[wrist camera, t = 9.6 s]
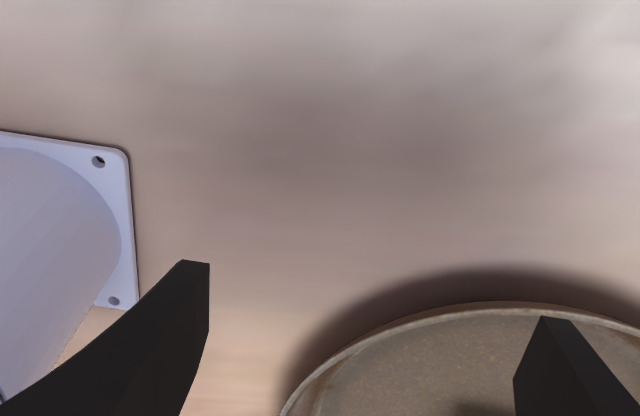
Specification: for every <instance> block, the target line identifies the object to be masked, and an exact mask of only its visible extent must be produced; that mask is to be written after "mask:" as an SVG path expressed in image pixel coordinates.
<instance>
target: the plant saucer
mask: <svg viewBox="0 0 640 416" xmlns="http://www.w3.org/2000/svg"><path fill="white" fill-rule="evenodd" d="M541 315H542V316H549V317H555V318H562V319H568V320H570V321H571V322H572V323H573V324H574V326H575V327H576V328H577V329H578V330H579V332H580V333H581V334H582V335H583V337H584V338H585V339H586V340H587V341H588V343H589V344H590V345H591V346H592V348H593V349H594V350H595V351H596V353H597V354H598V355H599V356H600V358H601V359H602V360H603V361H604V363H605V364H606V365H607V366H608V368H609V369H610V370H611V371H612V372H613V374H614V375H615V376H616V377H617V379H618V380H619V381H620V382H621V383H622V385H623V386H624V387H625V388H626V389H627V391H628V392H629V393H630V394H631V395H632V396H633V398H634V399H635V400H636V401H637V402H638V403H639V405H640V328H638V327H635V326H633V325H630V324H627V323H625V322H622V321H620V320H617V319H614V318H611V317H608V316H605V315H602V314H598V313H594V312H590V311H587V310H583V309H578V308H573V307H568V306H563V305H556V304H549V303H541V302H529V301H480V302H469V303H461V304H454V305H448V306H443V307H438V308H434V309H430V310H425V311H421V312H418V313H414V314H411V315H408V316H405V317H402V318H399V319H397V320H394V321H391V322H389V323H387V324H384V325H382V326H379V327H377V328H375V329H373V330H371V331H369V332H367V333H366V334H364V335H362V336H360V337H358V338H356V339H355V340H353V341H352V342H350V343H349V344H347V345H345V346H344V347H343V348H341V349H340V350H338V351H337V352H335V353H334V354H333V355H331V356H330V357H329V358H328V359H326V360H325V361H324V362H323V363H322V364H320V365H319V366H318V367H317V368H316V369H315V370H314V371H312V372H311V373H310V374H309V375H308V376H307V378H306V379H305V380H304V381H303V382H302V383H301V384H300V385H299V386H298V387H297V389H296V390H295V391H294V392H293V394H292V395H291V396H290V398H289V399H288V400H287V402H286V403H285V405H284V407H283V408H282V410H281V412H280V414H279V416H516V413H515V404H514V392H513V380H512V379H513V377H514V375H515V372H516V370H517V368H518V366H519V363H520V361H521V359H522V357H523V354H524V352H525V350H526V348H527V345H528V343H529V341H530V339H531V336H532V334H533V332H534V330H535V327H536V325H537V323H538V321H539V318H540V316H541Z"/></svg>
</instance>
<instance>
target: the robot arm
mask: <svg viewBox="0 0 640 416" xmlns="http://www.w3.org/2000/svg"><path fill="white" fill-rule="evenodd" d="M96 156H99V157H101V158H102V159H104V161H105V163H101V162H99V161H98V160H97V158H96ZM209 274H210V264H209V263H202V262H196V261H190V260H183V259H182V260H180V261H179V262H177V263H176V264H175V265H174V266H173V267H172V268H171V269H170V270H169V272H168V273H167V274H166V275H165V276H164V277H163V278H162V279H161V280H160V281H159V282H158V283H157V284H156V285H155V286H154V287H153V288H152V289H150V290H149V291H148V292H147V293H146V294H145V295H144V296H143V297H142V298H141V299H140V300H139V291H138V279H137V266H136V254H135V241H134V229H133V216H132V204H131V191H130V179H129V166H128V160H127V157H126V155H125V154H124V153H123V152H122V151H120V150H118V149H115V148H110V147H103V146H97V145H90V144H83V143H77V142H70V141H63V140H57V139H50V138H43V137H37V136H30V135H23V134H17V133H10V132H3V131H0V416H179V414H180V412H181V409H182V407H183V405H184V402H185V400H186V397H187V395H188V393H189V390H190V388H191V385H192V383H193V381H194V378H195V376H196V373H197V370H198V367H199V363H200V360H201V357H202V353H203V350H204V346H205V343H206V339H207V336H208V332H209ZM114 297H116V298H117V299H115V298H114ZM118 299H119V300H118ZM92 305H95V306H101V307H107V308H114V309H120V310H128V311H127V312H126V313H125V314H124V315H122V316H121V317H120V318H119V319H118V320H117V321H116V322H115V323H113V324H112V325H111V326H110V327H109V328H107V329H106V330H105V331H104V332H103V333H101V334H100V335H99V336H98V337H96V338H95V339H94V340H93V341H91V342H90V343H89V344H88V345H87V346H85V347H84V348H83V349H82V350H80V351H79V352H78V353H76V354H75V355H74V356H72V357H71V358H70V359H68V360H67V361H66V362H64V363H63V364H61V365H60V366H59V367H57V368H56V369H54V370H53V371H51V369H52V368H53V366H54V364H55V363H56V361H57V360H58V358H59V357H60V355H61V353H62V352H63V350H64V349H65V347H66V345H67V344H68V342H69V341H70V339H71V338H72V336H73V334H74V333H75V331H76V330H77V328H78V326H79V325H80V323H81V322H82V320H83V318H84V317H85V315H86V314H87V312H88V311H89V309H90V307H91V306H92ZM50 371H51V372H50ZM49 372H50V373H49ZM512 380H513V392H514V404H515V413H516V416H640V405H639V403H638V402H637V401H636V400H635V399H634V398H633V396H632V395H631V394H630V393H629V392H628V391H627V389H626V388H625V387H624V386H623V385H622V383H621V382H620V381H619V380H618V379H617V377H616V376H615V375H614V374H613V372H612V371H611V370H610V369H609V368H608V366H607V365H606V364H605V363H604V361H603V360H602V359H601V358H600V356H599V355H598V354H597V353H596V351H595V350H594V349H593V348H592V346H591V345H590V344H589V343H588V341H587V340H586V339H585V338H584V337H583V335H582V334H581V333H580V332H579V330H578V329H577V328H576V327H575V326H574V324H573V323H572V322H571V321H570V320H568V319H562V318H555V317H549V316H542V315H541V316H540V318H539V321H538V323H537V325H536V327H535V330H534V332H533V334H532V336H531V339H530V341H529V343H528V345H527V348H526V350H525V352H524V354H523V357H522V359H521V361H520V363H519V366H518V368H517V370H516V372H515V375H514V377H513V379H512Z"/></svg>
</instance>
